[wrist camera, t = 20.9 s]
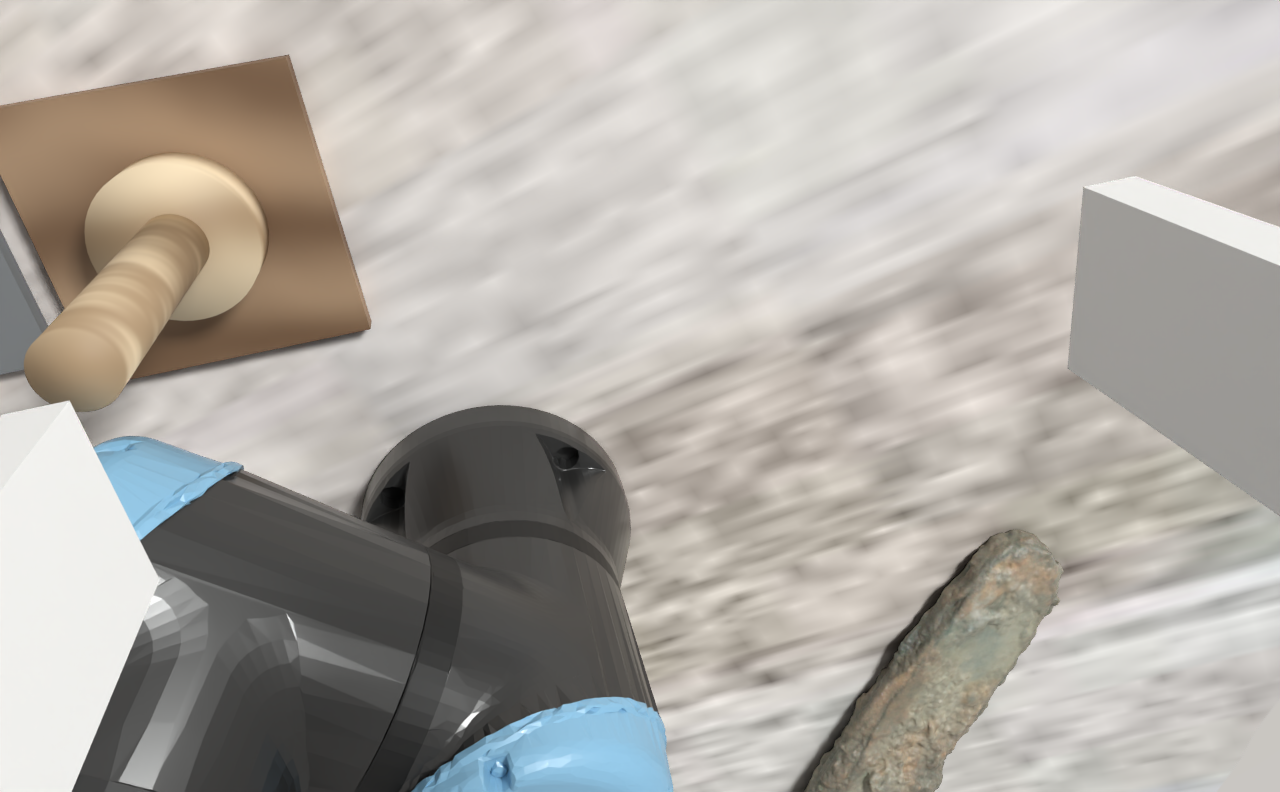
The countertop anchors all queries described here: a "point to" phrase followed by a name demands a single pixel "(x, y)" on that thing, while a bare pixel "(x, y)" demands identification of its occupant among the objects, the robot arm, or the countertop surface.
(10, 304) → the mat
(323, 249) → the board
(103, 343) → the masher
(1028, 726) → the countertop surface
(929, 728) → the elongated rock
